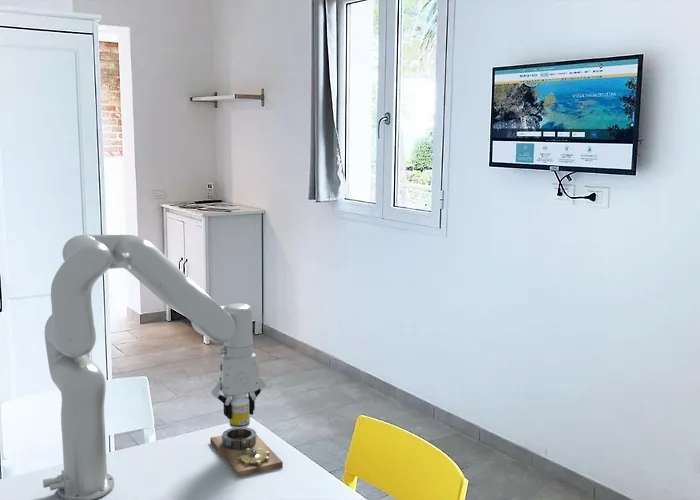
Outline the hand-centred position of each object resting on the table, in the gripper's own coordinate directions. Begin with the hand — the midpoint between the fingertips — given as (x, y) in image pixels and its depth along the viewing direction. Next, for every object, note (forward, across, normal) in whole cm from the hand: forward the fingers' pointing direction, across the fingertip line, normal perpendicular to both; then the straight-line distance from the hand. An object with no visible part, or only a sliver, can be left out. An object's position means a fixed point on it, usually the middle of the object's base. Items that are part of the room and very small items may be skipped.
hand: (239, 414), depth 190 cm
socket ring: (+8, 0, 0) cm, 8 cm away
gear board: (+9, 0, -4) cm, 10 cm away
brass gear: (+8, 0, -10) cm, 13 cm away
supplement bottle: (+3, 0, 0) cm, 3 cm away
